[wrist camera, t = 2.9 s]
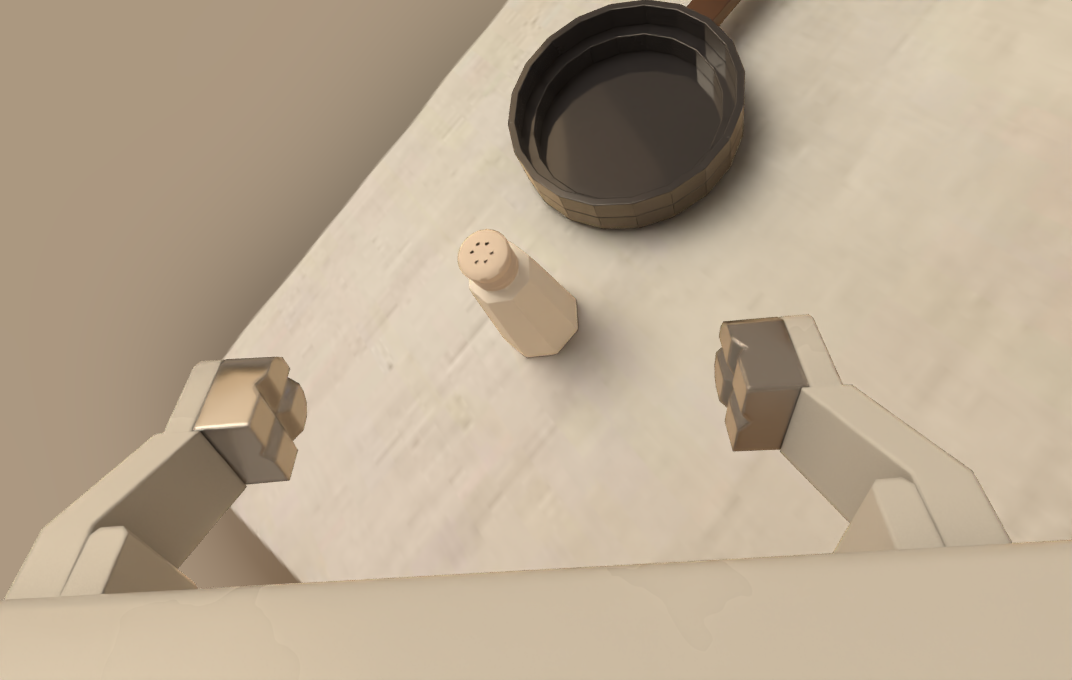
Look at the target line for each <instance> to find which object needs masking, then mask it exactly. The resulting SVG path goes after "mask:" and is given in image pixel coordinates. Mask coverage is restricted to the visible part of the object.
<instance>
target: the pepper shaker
mask: <svg viewBox="0 0 1072 680" xmlns="http://www.w3.org/2000/svg"><path fill="white" fill-rule="evenodd" d="M458 265H459V268H460V270H461V271H462V273H463V274H464V275H465V276H466V277H468V278H469V289H470V291H471V292H472V294H473V296H474V297H475V299H476V300H477V301H478V303H479V304H480V306H481V307H482V308H483V310H484V311H485V313H486V314H487V315H488V317H489V318H490V320H491V321H492V323H493V324H494V325H495V327H496V328H497V330H498V331H499V332H500V334H501V335H502V337H503V338H504V339H505V340H506V341H507V342H508V343H509V344H511V345H512V346H513V347H514V348H515V349H516V350H518V351H519V352H520V353H521V354H522V355H523V356H525V357H526V358H527V357H535V356H544V355H553V354H557V353H558V352H559V351H560V350H561V349H562V348H563V346H564V345H565V344H566V343H567V342H568V341H569V339H570V338H571V337H572V336H573V335H574V334H575V332H576V331H577V330H578V322H577V306H576V299H575V298H574V297H573V296H572V295H571V294H570V293H569V292H568V291H567V290H566V289H565V288H564V287H562V286H561V285H560V284H559V283H558V282H557V281H556V280H555V279H554V278H553V277H552V276H551V275H550V274H549V273H548V272H546V271H545V270H544V269H543V268H542V267H541V266H540V265H539V264H538V263H537V262H536V261H535V260H534V259H532V258H531V257H530V256H529V255H527V254H526V253H525V252H524V251H522V250H521V249H520V248H519V247H517V246H516V245H515V244H513V243H512V242H508V241H507V239H506V238H505V236H504V235H502V234H501V233H500V232H498V231H495V230H490V229H485V230H479V231H477V232H475V233H473V234H471V235H470V236H469V237H467V239H466V240H465V241H464V242H463V243H462V245H461V247H460V249H459V253H458Z"/></svg>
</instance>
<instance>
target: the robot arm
mask: <svg viewBox="0 0 1072 680" xmlns="http://www.w3.org/2000/svg"><path fill="white" fill-rule="evenodd" d="M719 338H720V342H721V346H722V348H720V349H719V350H718V351H717V352H716V357H715V364H714V367H715V383H716V389H717V393H718V398H719V401H720V402H721V403H722V404H723V405H725V406H726V407H727V412H726V417H725V424H726V428H727V432H728V435H729V439H730V443H731V446H732V450H733V451H755V450H780V449H781V450H780V452H781V453H782V454H783V455H784V456H785V457H786V458H787V459H788V460H789V461H790V462H791V463H792V464H793V466H794V467H795V468H796V469H797V470H798V471H799V472H800V473H801V474H802V475H803V476H804V477H805V478H806V479H807V480H808V481H809V482H810V483H811V484H812V485H813V486H814V487H815V488H816V489H817V490H818V491H819V492H820V493H821V494H822V495H823V496H824V497H825V498H826V499H827V500H828V501H829V502H830V503H831V504H832V505H833V506H834V507H835V508H836V509H837V510H838V511H839V512H840V514H841V515H842V516H843V517H844V518H845V519H846V520H847V521H848V522H849V523H850V524H849V526H848V528H847V529H846V531H845V533H844V534H843V536H842V538H841V540H840V541H839V543H838V545H837V546H836V548H835V550H834V551H833V553H829V554H811V555H793V556H775V557H758V558H740V559H722V560H704V561H687V562H668V563H650V564H632V565H614V566H596V567H578V568H560V569H541V570H523V571H505V572H487V573H470V574H452V575H434V576H417V577H399V578H381V579H363V580H346V581H328V582H310V583H292V584H274V585H256V586H240V587H221V588H204V589H198V588H197V586H196V584H195V582H193V581H192V580H191V579H190V578H188V577H187V576H186V575H185V574H183V573H182V572H181V571H180V570H178V568H179V567H180V566H181V565H182V563H183V562H184V561H185V560H186V559H187V557H188V556H189V555H190V554H191V553H192V551H193V550H194V549H195V548H196V547H197V546H198V544H199V543H200V542H201V541H202V540H203V538H204V537H205V536H206V535H207V534H208V532H209V531H210V530H211V529H212V528H213V526H214V525H215V524H216V523H217V522H218V521H219V519H220V518H221V517H222V516H223V515H224V513H225V512H226V511H227V510H228V509H229V507H230V506H231V505H232V504H233V503H234V501H235V500H236V499H237V498H238V497H239V496H240V494H241V493H242V492H243V491H244V490H245V488H246V487H247V486H246V484H257V483H268V482H279V481H289V480H290V477H291V474H292V470H293V467H294V463H295V459H296V456H297V452H298V449H297V447H296V446H295V444H294V442H293V440H294V439H295V438H296V437H297V436H298V435H299V434H300V433H301V432H302V431H303V430H304V426H305V422H306V418H307V402H306V398H305V395H304V391H303V390H302V388H301V386H300V384H299V383H297V382H295V381H294V380H292V379H290V378H288V374H289V371H290V368H289V366H288V365H287V363H286V362H285V360H284V359H283V357H263V358H243V359H226V360H215V361H214V360H213V361H200V362H199V363H198V364H197V365H195V366H194V367H193V369H192V371H191V374H190V376H189V378H188V380H187V382H186V384H185V387H184V389H183V391H182V393H181V395H180V397H179V400H178V402H177V404H176V406H175V409H174V411H173V413H172V415H171V417H170V419H169V422H168V424H167V426H166V429H165V430H164V433H159V434H155V435H154V436H152V437H151V438H150V439H149V440H148V441H146V442H145V443H144V444H143V445H142V446H141V447H139V448H138V449H137V450H136V451H135V452H133V453H132V454H131V455H130V456H128V457H127V458H126V459H125V460H124V461H123V462H121V463H120V464H119V465H118V466H116V467H115V468H114V469H113V470H112V471H110V472H109V473H108V474H107V475H106V476H104V477H103V478H102V479H101V480H100V481H99V482H97V483H96V484H95V485H94V486H93V487H92V488H90V489H89V490H88V491H87V492H85V493H84V494H83V495H82V496H81V497H79V498H78V499H77V500H76V501H75V502H73V503H72V504H71V505H70V506H69V507H68V508H66V509H65V510H64V511H63V512H61V513H60V514H59V515H58V516H57V517H56V518H54V519H53V520H52V521H51V522H49V523H48V524H47V525H46V526H45V527H43V528H42V530H41V532H40V534H39V536H38V537H37V539H36V541H35V543H34V545H33V546H32V548H31V550H30V552H29V554H28V556H27V557H26V559H25V561H24V563H23V565H22V567H21V569H20V571H19V572H18V574H17V576H16V578H15V580H14V581H13V583H12V585H11V587H10V589H9V591H8V593H7V594H6V596H5V598H4V600H0V680H1072V540H1059V541H1042V542H1024V543H1012V542H1011V540H1010V538H1009V536H1008V534H1007V532H1006V531H1005V529H1004V527H1003V525H1002V523H1001V521H1000V520H999V518H998V516H997V514H996V512H995V510H994V509H993V507H992V505H991V503H990V501H989V499H988V498H987V496H986V494H985V492H984V490H983V488H982V487H981V485H980V483H979V481H978V479H977V477H976V476H975V474H974V472H973V471H972V470H971V469H969V468H968V467H966V466H965V465H964V464H962V463H961V462H959V461H958V460H957V459H955V458H954V457H952V456H951V455H950V454H948V453H947V452H945V451H944V450H943V449H941V448H940V447H938V446H937V445H936V444H934V443H933V442H931V441H930V440H929V439H927V438H926V437H924V436H923V435H922V434H920V433H919V432H917V431H916V430H915V429H913V428H912V427H910V426H909V425H908V424H906V423H905V422H903V421H902V420H901V419H899V418H898V417H896V416H895V415H894V414H892V413H891V412H889V411H888V410H887V409H885V408H884V407H882V406H881V405H880V404H878V403H877V402H875V401H874V400H873V399H871V398H870V397H868V396H867V395H866V394H864V393H863V392H861V391H860V390H859V389H857V388H856V387H854V386H853V385H852V384H851V385H843V384H842V381H841V379H840V377H839V375H838V372H837V370H836V368H835V366H834V363H833V361H832V359H831V357H830V354H829V352H828V350H827V348H826V345H825V343H824V341H823V339H822V336H821V334H820V332H819V330H818V327H817V325H816V323H815V321H814V318H813V317H811V316H810V315H809V314H806V315H794V316H782V317H768V318H757V319H746V320H734V321H723V323H722V325H721V327H720V333H719Z"/></svg>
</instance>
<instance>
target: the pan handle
mask: <svg viewBox="0 0 1072 680" xmlns="http://www.w3.org/2000/svg"><path fill="white" fill-rule="evenodd" d="M740 1H741V0H692V1H691V2H690V3H689V5H688V6H687V7H688V8H690V9H692V10H694V11H696V12H698V13H700V14H702V15H705V16H707V17H709V18H710V19H712V20H713V21H714V22H715V24H716V25H717V26H718V27H719V26H720V24H721V23H722V22H723V21H724V20H725V19H726V17H727V16H728V15H729V14H730V13H731V12H732V10H733V9H734V8H735V7H736V6H737V4H738V3H739V2H740Z"/></svg>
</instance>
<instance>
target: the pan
mask: <svg viewBox="0 0 1072 680" xmlns="http://www.w3.org/2000/svg"><path fill="white" fill-rule="evenodd" d="M744 90H745V70H744V68H743V65H742V63H741V60H740V58H739V55H738V53H737V50H736V48H735V45H734V43H733V41H732V40H731V39H730V38H729V37H728V36H727V35H726V34H725V33H724V32H723V31H722V30H721V29H720V28H719V27H718V26H717V25H716V24H715V22H714V21H713V20H712V19H710V18H709V17H707V16H705V15H702V14H700V13H698V12H696V11H694V10H692V9H690V8H688V7H685V6H683V5H680V4H676V3H668V2H661V1H654V0H638V1H631V2H623V3H616V4H610V5H607V6H605V7H602V8H600V9H597V10H594V11H592V12H589V13H587V14H584V15H582V16H579V17H577V18H575V19H574V20H573V21H571V22H570V23H568V24H567V25H566V26H564V27H563V28H561V29H560V30H558V31H557V32H556V33H554V34H553V35H551V36H550V37H549V38H547V40H546V41H545V42H544V43H543V44H542V45H541V47H540V48H539V49H538V50H537V51H536V52H535V53H534V55H533V56H532V57H531V58H530V59H529V60H528V62H527V63H526V64H525V66H524V68H523V71H522V73H521V75H520V77H519V79H518V81H517V83H516V85H515V88H514V90H513V92H512V96H511V104H510V112H509V120H508V126H509V131H510V135H511V140H512V144H513V148H514V153H515V155H516V156H517V158H518V160H519V162H520V164H521V165H522V167H523V169H524V171H525V173H526V174H527V176H528V178H529V180H530V181H531V183H532V184H533V185H534V187H535V188H536V190H537V191H538V193H539V194H540V196H541V197H542V199H543V200H544V201H545V202H546V203H547V204H549V205H550V206H551V207H553V208H554V209H556V210H557V211H559V212H560V213H562V214H563V215H564V216H566V217H567V218H569V219H571V220H574V221H577V222H581V223H584V224H588V225H592V226H595V227H599V228H604V229H608V228H638V227H639V228H640V227H643V226H646V225H649V224H653V223H656V222H659V221H662V220H665V219H668V218H671V217H674V216H676V215H677V214H679V213H680V212H682V211H683V210H685V209H686V208H688V207H690V206H691V205H693V204H694V203H696V202H697V201H699V200H700V199H702V198H703V197H705V196H706V195H707V194H708V193H709V192H710V191H711V189H712V188H713V187H714V186H715V185H716V184H717V182H718V181H719V180H720V179H721V178H722V176H723V175H724V174H725V173H726V172H727V170H728V169H729V168H730V166H731V164H732V161H733V159H734V156H735V154H736V151H737V149H738V146H739V144H740V141H741V139H742V136H743V121H744Z"/></svg>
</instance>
